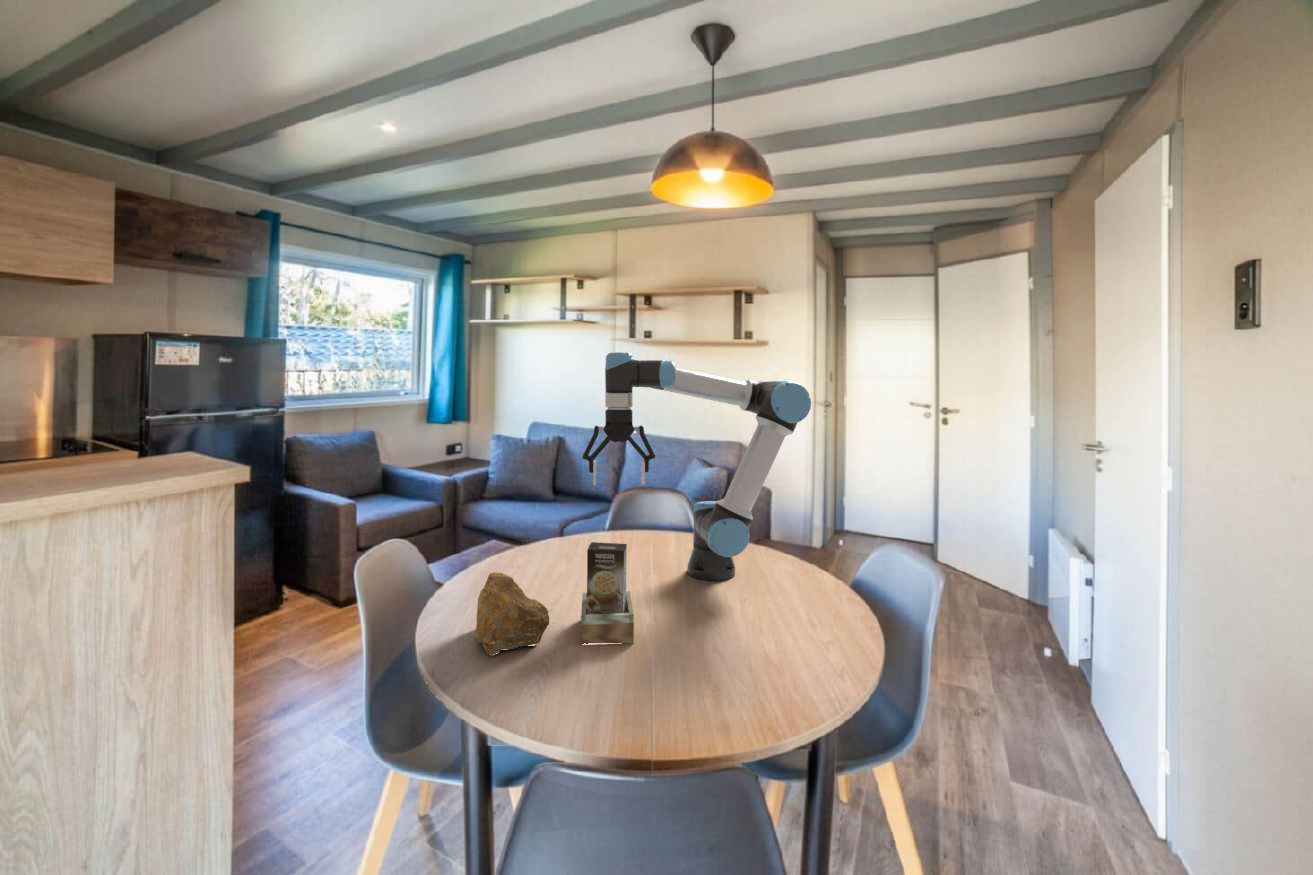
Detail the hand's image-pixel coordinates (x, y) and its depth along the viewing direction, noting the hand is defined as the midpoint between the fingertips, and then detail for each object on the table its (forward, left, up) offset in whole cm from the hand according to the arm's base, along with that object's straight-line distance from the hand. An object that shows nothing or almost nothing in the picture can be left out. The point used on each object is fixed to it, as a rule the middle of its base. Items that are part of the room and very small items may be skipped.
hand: (618, 484), depth 162 cm
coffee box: (+4, +25, -27) cm, 37 cm away
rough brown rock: (+26, +29, -32) cm, 50 cm away
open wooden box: (+4, +25, -32) cm, 41 cm away
